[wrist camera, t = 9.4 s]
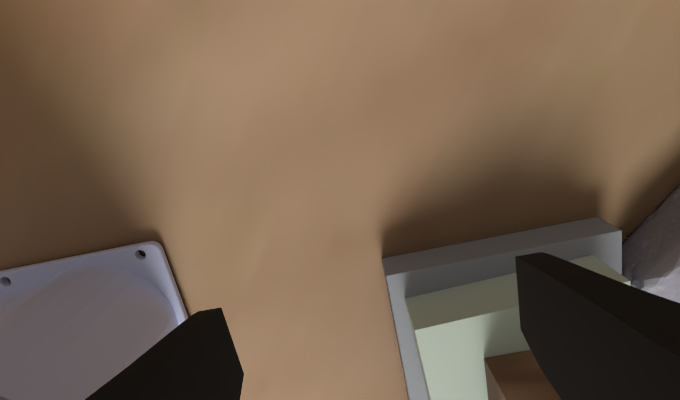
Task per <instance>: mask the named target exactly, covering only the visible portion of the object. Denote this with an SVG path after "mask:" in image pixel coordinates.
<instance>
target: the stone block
mask: <svg viewBox="0 0 680 400" xmlns="http://www.w3.org/2000/svg"><path fill="white" fill-rule="evenodd" d="M622 275H623V276H624V277H625V278H627V279H628V280H630V284H631V286H632V287H635V288H638V289H641V290H643V291H646V292H649V293H652V294H654V295H657V296H660V297H663V298H666V299H669V300H672V301H675V302H678V303H680V185H679V186H678V187H677V188H676V189H675V190H674V191H673V192H672V193H671V194H670V195H669V196H668V197H667V199H666V200H665V201H664V202H663V204H662V205H661V206H660V207H659V208H658V209H657V210H656V211H655V212H654V213H653V214H652V215H650V216H649V217H648V218H647V219H646V220H645V221H644V222H643V223H642V224H641V225H640V226H639V227H638V228H637V229H636V230H635V231H634V232H633V233H632V234H631V235H630V236H629V237H628V238H627V239H626V241H625V242H624V243H623V245H622Z"/></svg>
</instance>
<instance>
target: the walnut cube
mask: <svg viewBox="0 0 680 400" xmlns="http://www.w3.org/2000/svg"><path fill="white" fill-rule="evenodd" d="M484 364H485V373H486V383H487V392H488V400H561V398H560V397H559V395H558V394H557V392H556V391H555V389H554V388H553V386H552V385H551V383H550V382H549V380H548V379H547V378H546V376H545V374H544V373H543V371H542V370H541V368H540V367H539V365H538V363H537V361H536V359H535V357H534V355H533V353H532V351H531V350H528V351H522V352H516V353H511V354H505V355H500V356H494V357H488V358H484Z"/></svg>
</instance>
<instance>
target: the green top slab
mask: <svg viewBox="0 0 680 400" xmlns="http://www.w3.org/2000/svg"><path fill="white" fill-rule="evenodd" d="M568 261H569V262H571V263H574V264H576V265H579V266H581V267H584V268H586V269H589V270H591V271H594V272H596V273H599V274H601V275H604V276H607V277H609V278H612V279H614V280H617V281H619V282H622V283H625V284H627V285H630V286H631V284H630V280H628V279H627V278H625V277H624V276H623V275H621V274H620V273H618V272H617V271H615V270H614V269H613V268H611V267H610V266H608V265H607V264H605V263H604V262H603V261H601V260H600V259H598V258H597V257H595V256H594V255H589V256H585V257H581V258H577V259H572V260H568ZM405 303H406V307H407V311H408V316H409V320H410V324H411V328H412V333H413V337H414V341H415V345H416V349H417V354H418V358H419V362H420V366H421V370H422V375H423V379H424V383H425V387H426V391H427V396H428V400H488V392H487V383H486V373H485V364H484V358H488V357H494V356H500V355H505V354H511V353H516V352H522V351H528V350H530V347H529V345H528V343H527V341H526V339H525V337H524V335H523V333H522V331H521V328H520V315H519V301H518V288H517V275H516V273H512V274H508V275H504V276H500V277H495V278H491V279H487V280H482V281H478V282H474V283H470V284H465V285H461V286H457V287H453V288H448V289H444V290H440V291H435V292H431V293H427V294H423V295H418V296H414V297H410V298H405Z"/></svg>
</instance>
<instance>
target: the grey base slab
mask: <svg viewBox="0 0 680 400" xmlns="http://www.w3.org/2000/svg"><path fill="white" fill-rule="evenodd" d="M538 252H544V253H547V254H550V255H553V256H556V257H559V258H561V259H564V260H566V261H568V260H572V259H577V258H581V257H585V256H589V255H594V256H595V257H597V258H598V259H600V260H601V261H603V262H604V263H605V264H607V265H608V266H610V267H611V268H613V269H614V270H615V271H617V272H618V273H620V274H621V275H622V230H620V229H618V228H616V227H615V226H613V225H611V224H609V223H607V222H605V221H603V220H602V219H600V218H598V217H593V218H588V219H583V220H577V221H572V222H567V223H562V224H557V225H552V226H547V227H541V228H536V229H531V230H526V231H521V232H516V233H510V234H505V235H500V236H495V237H490V238H485V239H480V240H474V241H469V242H464V243H459V244H454V245H449V246H444V247H438V248H433V249H428V250H423V251H418V252H413V253H407V254H402V255H397V256H392V257H387V258H382V264H383V269H384V274H385V279H386V284H387V290H388V295H389V300H390V305H391V311H392V316H393V321H394V326H395V331H396V337H397V342H398V347H399V352H400V358H401V363H402V368H403V373H404V378H405V384H406V389H407V394H408V399H409V400H428V396H427V391H426V387H425V383H424V379H423V375H422V370H421V366H420V362H419V358H418V354H417V349H416V345H415V341H414V337H413V333H412V328H411V324H410V320H409V316H408V311H407V307H406V303H405V298H410V297H414V296H418V295H423V294H427V293H431V292H435V291H440V290H444V289H448V288H453V287H457V286H461V285H465V284H470V283H474V282H478V281H482V280H487V279H491V278H495V277H500V276H504V275H508V274H512V273H516V262H515V256H521V255H527V254H533V253H538Z"/></svg>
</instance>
